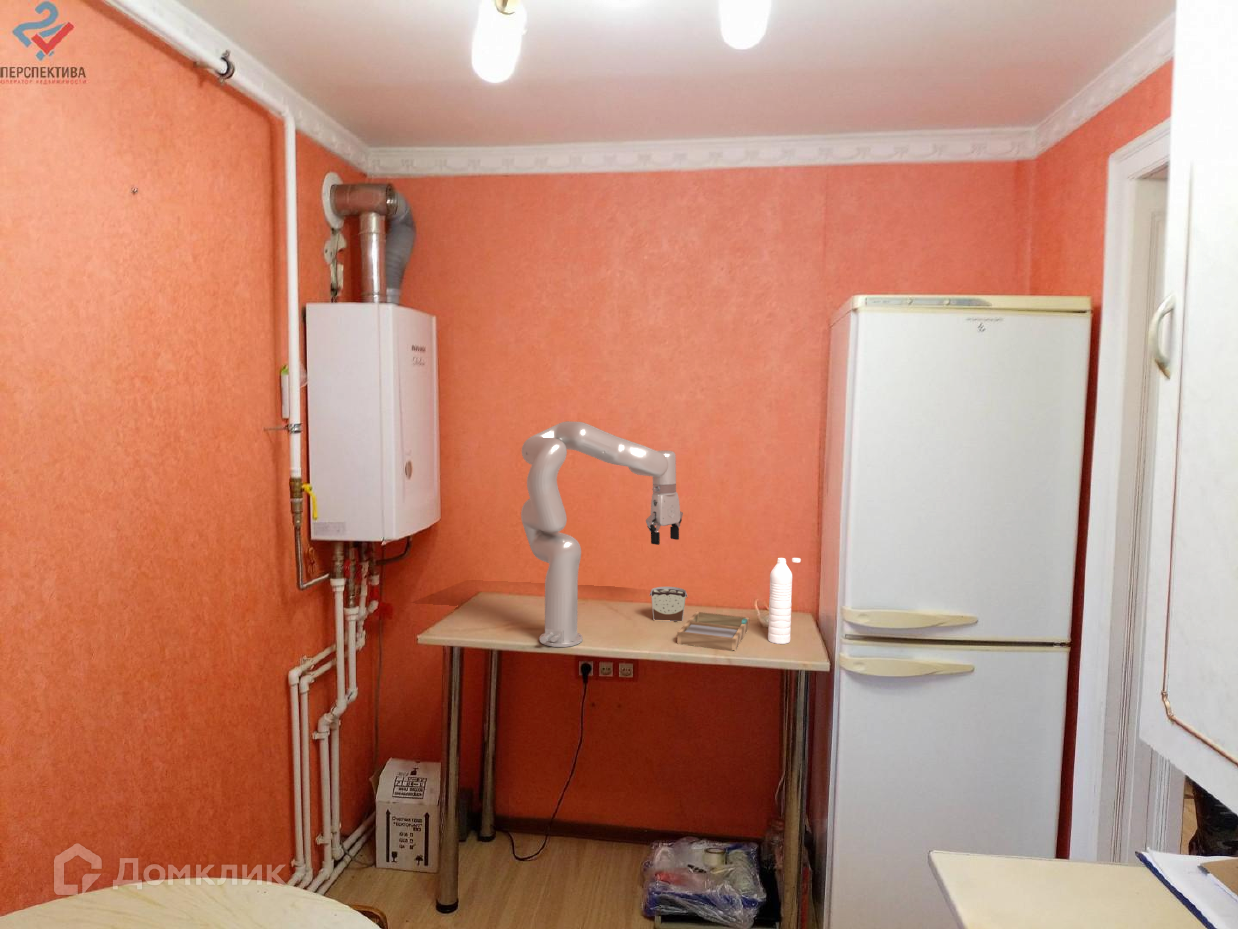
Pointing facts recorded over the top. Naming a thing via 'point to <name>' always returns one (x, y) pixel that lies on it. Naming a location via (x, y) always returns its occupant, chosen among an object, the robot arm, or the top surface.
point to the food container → (668, 603)
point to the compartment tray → (714, 631)
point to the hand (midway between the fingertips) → (665, 541)
